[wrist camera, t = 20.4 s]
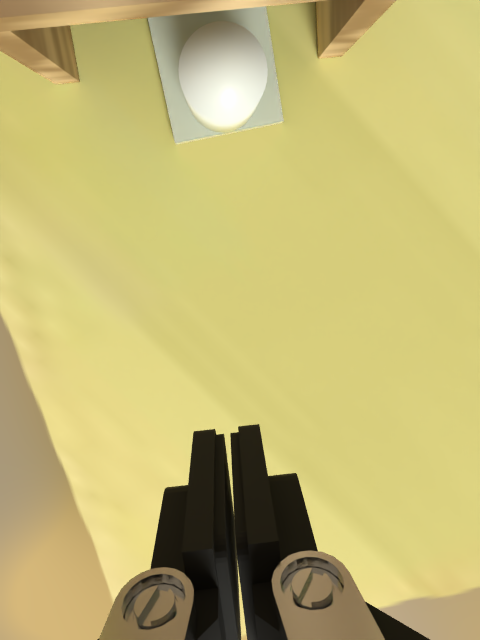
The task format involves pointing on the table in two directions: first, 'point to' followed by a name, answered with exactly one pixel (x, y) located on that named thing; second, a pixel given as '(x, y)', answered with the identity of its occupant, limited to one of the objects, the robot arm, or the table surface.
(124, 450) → the table surface
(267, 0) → the wooden bridge
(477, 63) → the table surface
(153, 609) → the robot arm
